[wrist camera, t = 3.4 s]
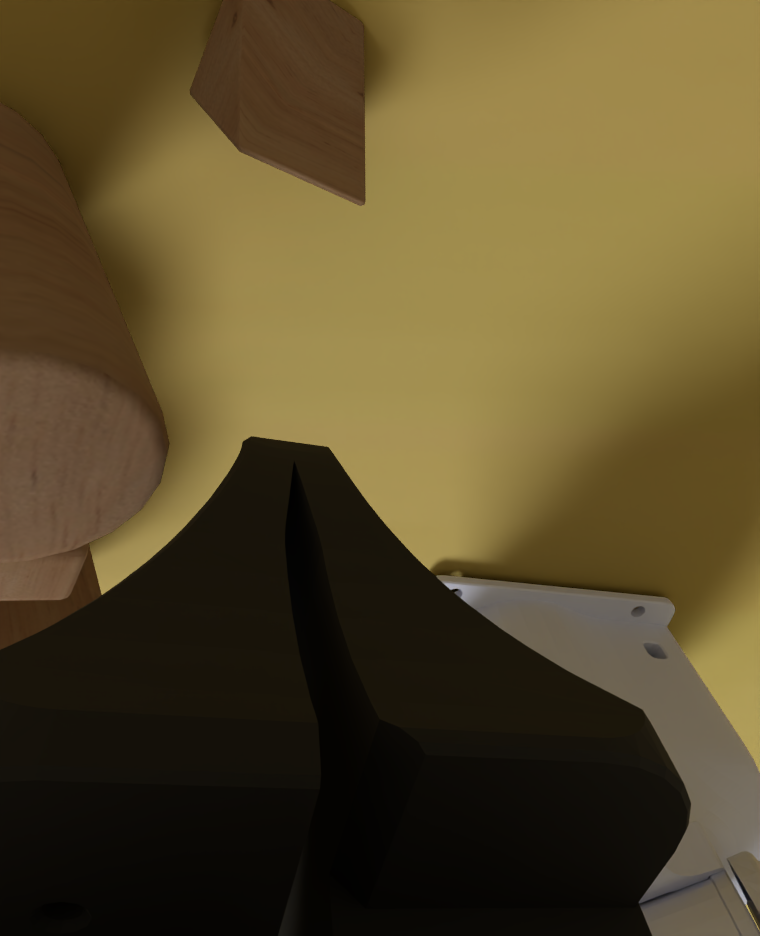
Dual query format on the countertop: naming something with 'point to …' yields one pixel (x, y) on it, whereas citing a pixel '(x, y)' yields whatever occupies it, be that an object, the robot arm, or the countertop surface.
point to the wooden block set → (97, 312)
